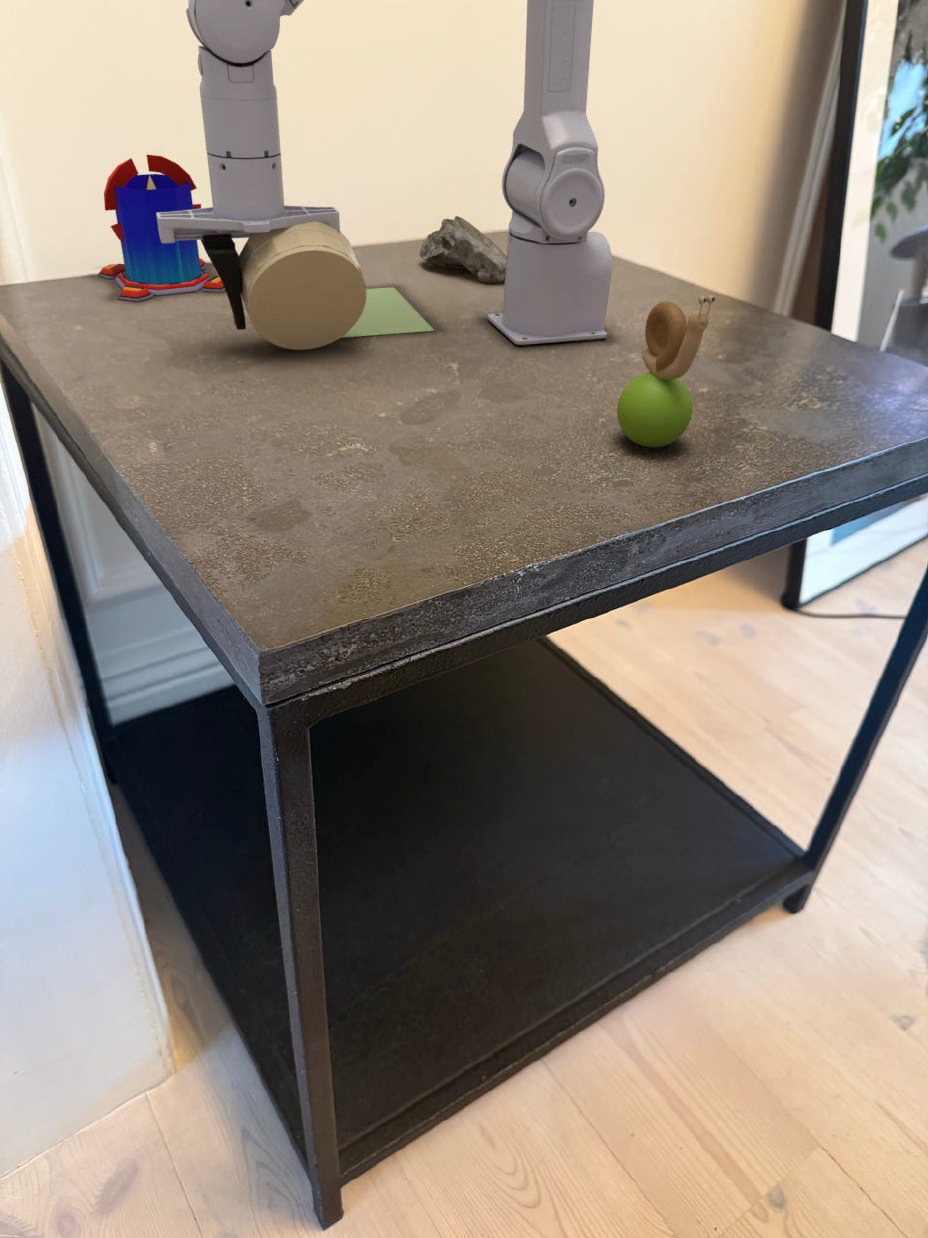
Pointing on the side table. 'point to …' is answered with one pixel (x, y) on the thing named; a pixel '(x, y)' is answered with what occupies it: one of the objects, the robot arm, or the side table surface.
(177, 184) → the fantasy tower
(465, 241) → the grey rock
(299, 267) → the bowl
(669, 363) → the snail figurine
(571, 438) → the side table surface
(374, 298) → the mat
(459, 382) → the side table surface
